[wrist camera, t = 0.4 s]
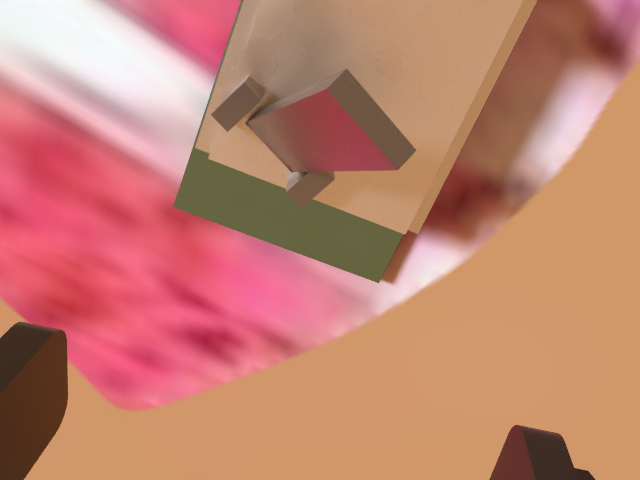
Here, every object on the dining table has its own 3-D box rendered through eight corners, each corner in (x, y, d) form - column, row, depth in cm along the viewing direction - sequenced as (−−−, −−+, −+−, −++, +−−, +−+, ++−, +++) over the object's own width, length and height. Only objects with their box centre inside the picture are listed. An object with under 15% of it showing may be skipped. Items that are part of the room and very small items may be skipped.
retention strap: (302, 158, 28) (289, 172, 28) (256, 110, 27) (243, 124, 27) (417, 148, 17) (396, 171, 17) (348, 66, 16) (325, 90, 16)
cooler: (339, -288, 26) (346, -399, 18) (591, -158, 28) (693, -210, 20) (177, 199, 35) (136, 262, 27) (377, 274, 37) (391, 352, 29)
